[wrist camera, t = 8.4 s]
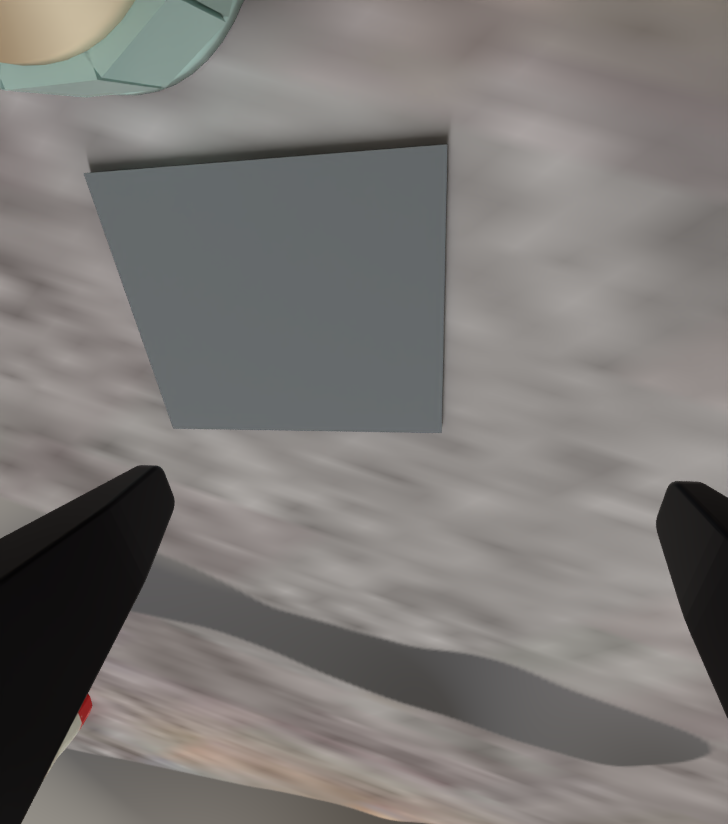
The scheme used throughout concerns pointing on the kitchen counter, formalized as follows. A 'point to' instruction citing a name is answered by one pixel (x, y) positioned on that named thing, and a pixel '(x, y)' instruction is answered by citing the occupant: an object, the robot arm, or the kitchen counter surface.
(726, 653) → the robot arm
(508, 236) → the kitchen counter surface
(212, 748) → the kitchen counter surface
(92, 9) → the lid
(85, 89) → the bowl
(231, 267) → the mat
